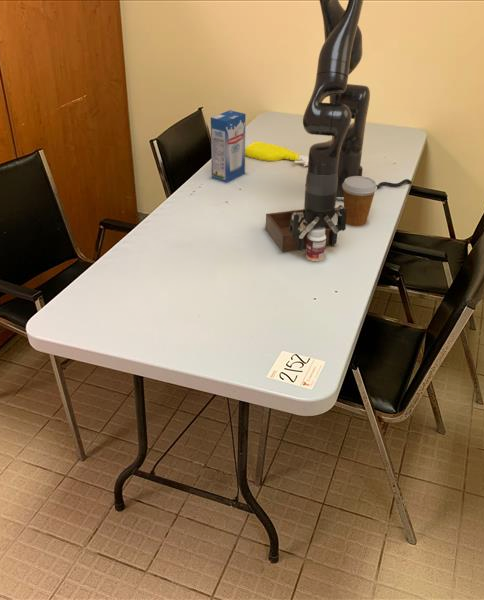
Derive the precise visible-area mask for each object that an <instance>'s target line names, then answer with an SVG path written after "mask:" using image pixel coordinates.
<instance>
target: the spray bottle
mask: <svg viewBox="0 0 484 600" xmlns="http://www.w3.org/2000/svg"><path fill="white" fill-rule="evenodd" d="M245 157H248V158H251V159H255V160H259V161H264V162H277V161H281V160H290V161H293V163H294V164H302V165H303V166H304V167H308V160H309V156H307V155H301V154H300V153H297V152H295V151H292V150H290V149H289V148H287V147H284V146H280V145H277V144H272V143H267V142H261V141H253V142H252V143H251V144H249V145H246V146H245Z"/></svg>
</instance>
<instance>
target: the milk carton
mask: <svg viewBox="0 0 484 600" xmlns="http://www.w3.org/2000/svg"><path fill="white" fill-rule="evenodd" d="M246 116H247V114H246V113H245V112H239V111H235V110H227V111H225V112H222V113H219V114H216V115H213V116H211V117H210V143H211V144H210V150H211V152H210V155H211V179H214V180H217V181H220V182H223V183H226V184H227V183H229V182H231V181H234V180H235V179H237V178H240V177H241V176H243V175H245V174H246V155H245V149H246V118H247V117H246Z"/></svg>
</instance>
